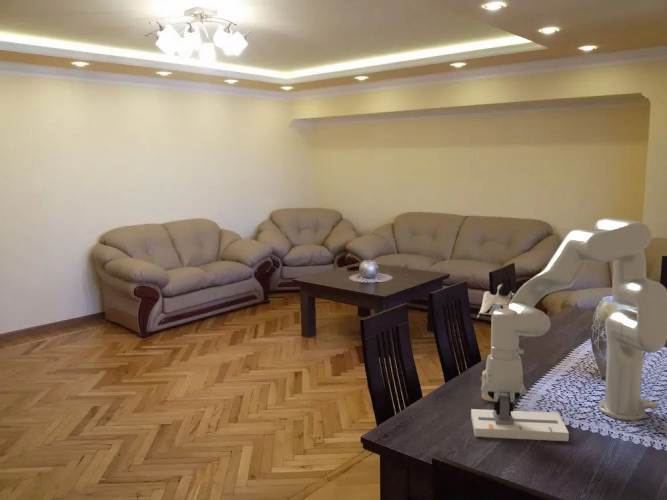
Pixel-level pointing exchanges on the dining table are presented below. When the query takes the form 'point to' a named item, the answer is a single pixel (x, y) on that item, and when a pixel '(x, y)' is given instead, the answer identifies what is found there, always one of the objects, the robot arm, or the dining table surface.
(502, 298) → the bird statue
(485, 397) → the candle
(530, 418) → the fader console
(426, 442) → the dining table surface
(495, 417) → the fader tab
